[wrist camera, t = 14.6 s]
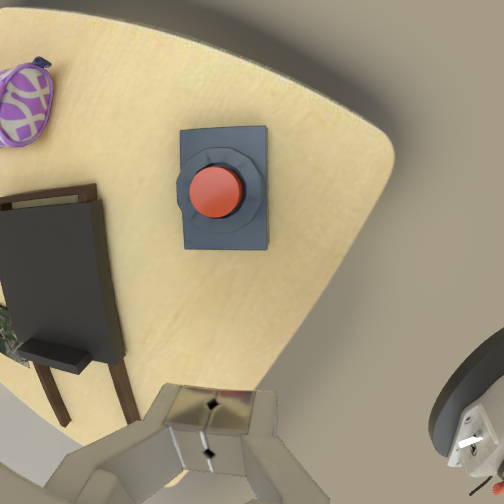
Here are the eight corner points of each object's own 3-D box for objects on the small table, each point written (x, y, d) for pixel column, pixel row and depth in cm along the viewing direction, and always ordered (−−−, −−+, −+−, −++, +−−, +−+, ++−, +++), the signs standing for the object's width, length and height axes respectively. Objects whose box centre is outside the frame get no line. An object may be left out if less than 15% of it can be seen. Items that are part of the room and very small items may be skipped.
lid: (126, 355, 32) (104, 381, 27) (26, 334, 33) (3, 351, 28) (101, 199, 27) (69, 207, 22) (0, 209, 29) (-29, 217, 24)
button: (243, 213, 24) (239, 217, 22) (196, 214, 24) (190, 217, 22) (242, 165, 23) (238, 165, 21) (195, 167, 23) (188, 167, 21)
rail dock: (148, 442, 37) (143, 451, 35) (66, 418, 38) (61, 426, 36) (96, 183, 27) (85, 185, 25) (6, 195, 29) (-5, 198, 27)
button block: (268, 245, 27) (265, 256, 24) (190, 244, 28) (177, 255, 25) (267, 128, 25) (264, 122, 21) (185, 132, 25) (171, 127, 22)
